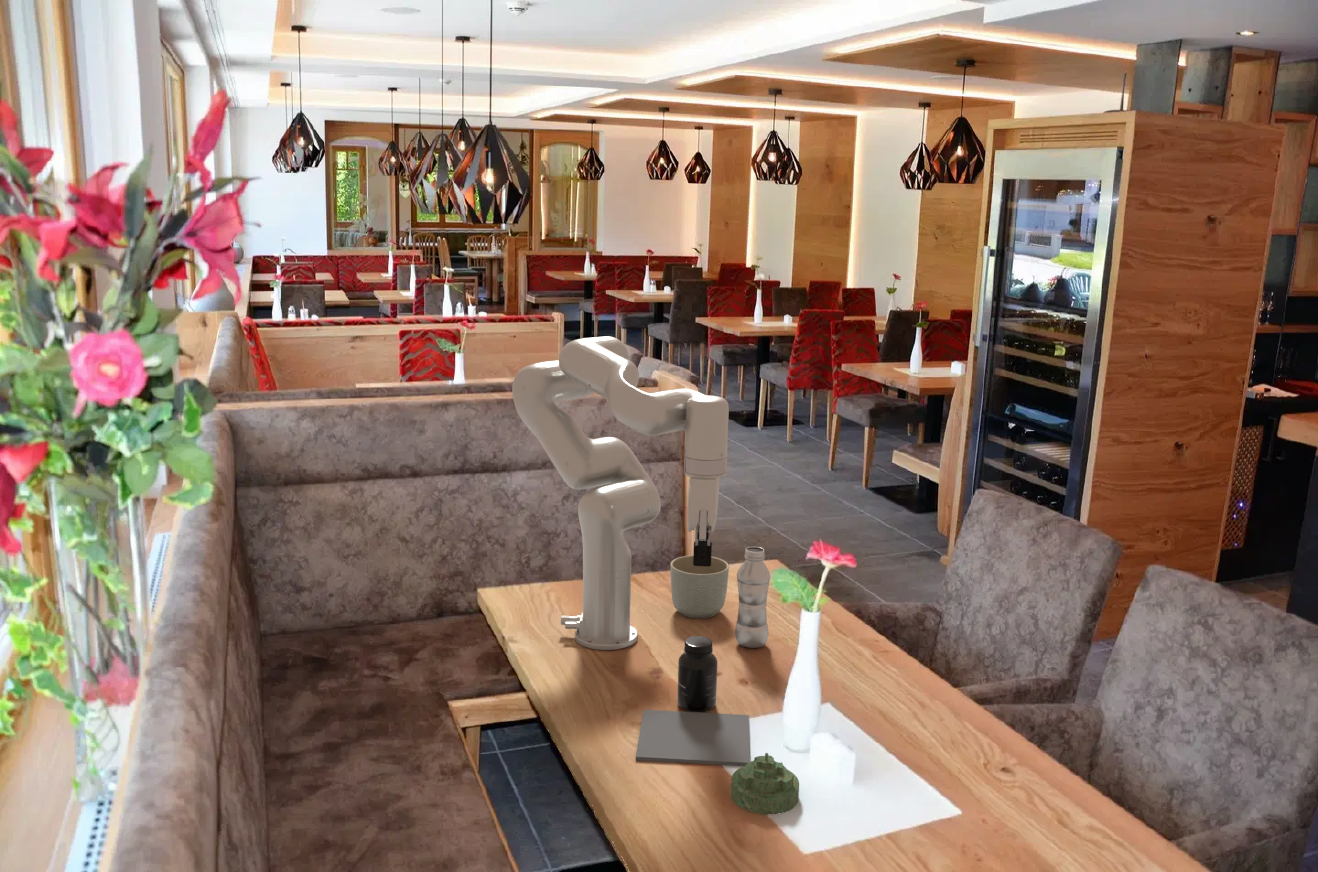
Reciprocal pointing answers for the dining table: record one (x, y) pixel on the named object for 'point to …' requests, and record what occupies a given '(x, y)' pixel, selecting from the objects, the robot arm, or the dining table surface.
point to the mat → (694, 738)
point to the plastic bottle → (752, 599)
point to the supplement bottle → (697, 675)
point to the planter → (698, 586)
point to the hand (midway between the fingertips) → (702, 564)
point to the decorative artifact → (765, 786)
